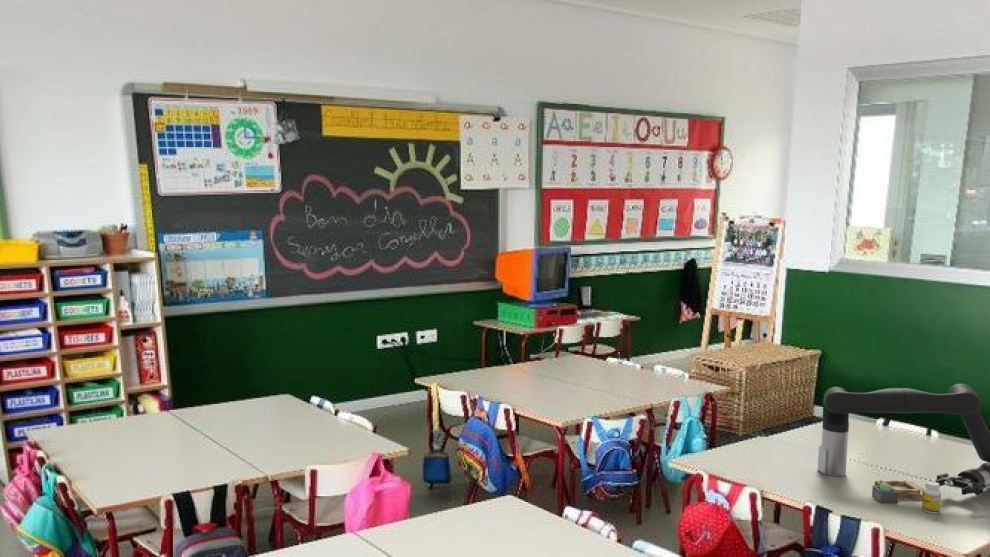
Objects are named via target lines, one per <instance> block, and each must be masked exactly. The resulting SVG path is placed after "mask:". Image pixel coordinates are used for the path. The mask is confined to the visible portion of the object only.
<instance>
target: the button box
mask: <svg viewBox="0 0 990 557" xmlns="http://www.w3.org/2000/svg"><path fill="white" fill-rule="evenodd" d="M871 488H872V490H871V498H875V501H877V502H878V501H879V502H878V503H880V504H899V499H898V493H899V492H897V491H896V490H894V489H893V488H892V487H891V491H881V490H880V486H876V485H872V487H871Z"/></svg>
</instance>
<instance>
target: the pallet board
mask: <svg viewBox="0 0 990 557" xmlns="http://www.w3.org/2000/svg"><path fill="white" fill-rule="evenodd" d="M880 483H886V484H890V485H891V487H892V488H893V489H894V490H896V491H897V492H899V493H898V498H923V489H924V488H923V487H921V486H920V485H918V484H917V483H916V482H914V481H911V480H908V481H907V480H895V479H894V480H891V479H890V480H889V479H888V480H887V479H884V480H883V479H880V480H875V481H874V486H880Z"/></svg>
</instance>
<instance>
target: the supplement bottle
mask: <svg viewBox="0 0 990 557" xmlns="http://www.w3.org/2000/svg"><path fill="white" fill-rule="evenodd" d="M941 502H942V491H941V490H940V486H939V483H937V482H936V481H933V480H932V481H931V480H927V481H925V487H924V488H923V498H922V499H921V509H922V511H924V512H925V513H929V514H933V515H934V514H935V515H936V514H939V513H941Z"/></svg>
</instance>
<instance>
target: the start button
mask: <svg viewBox="0 0 990 557" xmlns="http://www.w3.org/2000/svg"><path fill="white" fill-rule="evenodd" d="M880 490H881V491H891V485H890V484H886V483H880Z"/></svg>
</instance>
